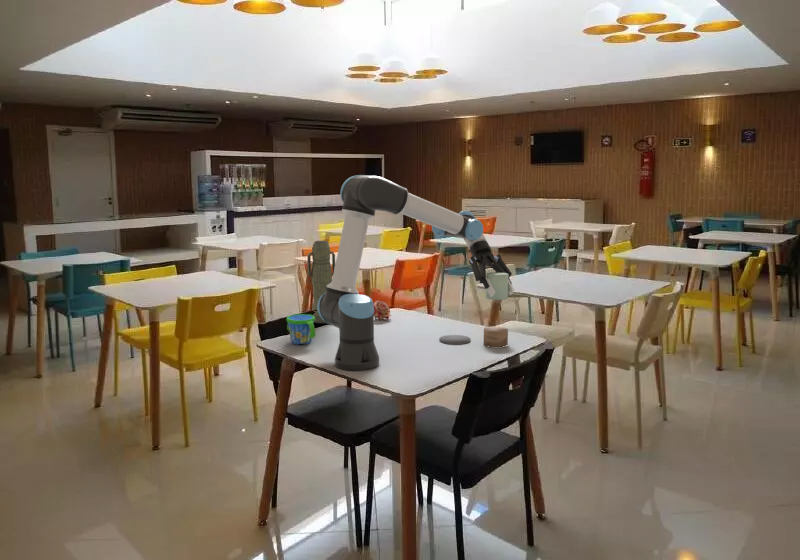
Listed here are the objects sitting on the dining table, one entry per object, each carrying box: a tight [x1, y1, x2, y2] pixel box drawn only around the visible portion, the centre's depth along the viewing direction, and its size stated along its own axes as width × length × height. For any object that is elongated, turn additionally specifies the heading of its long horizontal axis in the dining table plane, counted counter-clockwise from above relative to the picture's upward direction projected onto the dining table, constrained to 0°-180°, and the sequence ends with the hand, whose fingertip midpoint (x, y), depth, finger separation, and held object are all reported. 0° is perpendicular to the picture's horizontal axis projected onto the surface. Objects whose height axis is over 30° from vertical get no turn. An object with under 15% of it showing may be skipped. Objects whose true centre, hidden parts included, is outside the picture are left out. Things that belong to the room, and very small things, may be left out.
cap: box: [485, 271, 509, 301], centre depth 243 cm, size 8×8×9 cm
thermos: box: [306, 240, 336, 324], centre depth 282 cm, size 9×12×35 cm
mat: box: [439, 334, 471, 346], centre depth 253 cm, size 12×12×1 cm
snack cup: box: [285, 313, 317, 346], centre depth 250 cm, size 16×10×10 cm
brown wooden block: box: [483, 325, 509, 348], centre depth 246 cm, size 9×9×6 cm
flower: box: [373, 299, 392, 321], centre depth 288 cm, size 10×9×8 cm
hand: (502, 293), depth 240 cm, fingers closed on cap, 8 cm apart
